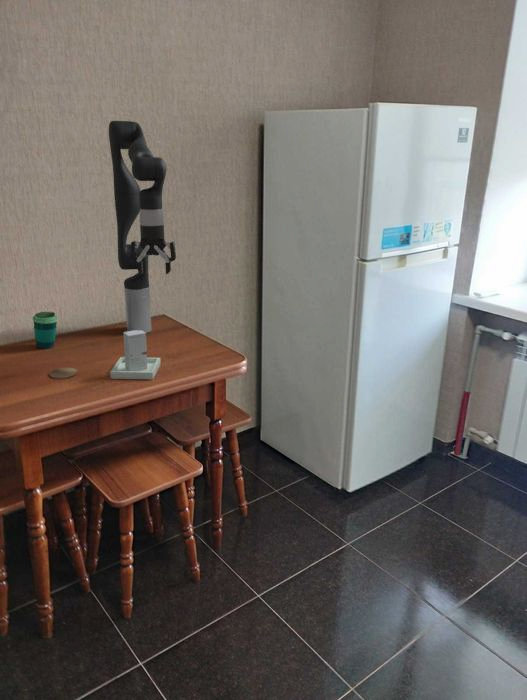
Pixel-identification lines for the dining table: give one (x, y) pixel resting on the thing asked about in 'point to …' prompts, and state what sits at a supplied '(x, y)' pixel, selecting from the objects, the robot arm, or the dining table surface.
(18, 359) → the dining table surface
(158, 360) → the tray
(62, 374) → the coaster
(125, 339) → the skincare box
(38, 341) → the cup
